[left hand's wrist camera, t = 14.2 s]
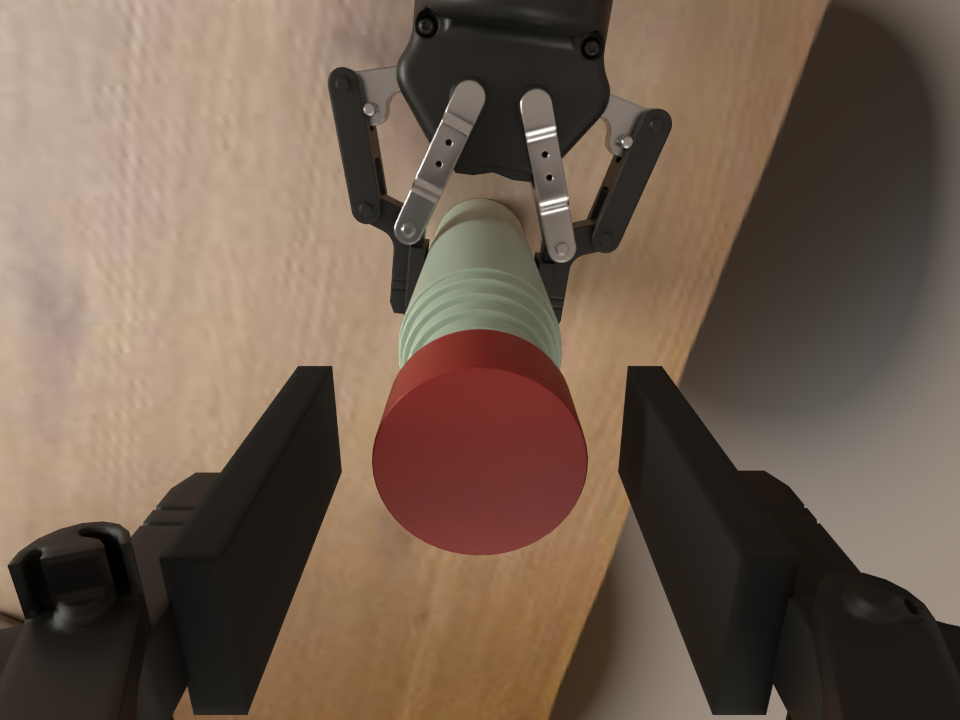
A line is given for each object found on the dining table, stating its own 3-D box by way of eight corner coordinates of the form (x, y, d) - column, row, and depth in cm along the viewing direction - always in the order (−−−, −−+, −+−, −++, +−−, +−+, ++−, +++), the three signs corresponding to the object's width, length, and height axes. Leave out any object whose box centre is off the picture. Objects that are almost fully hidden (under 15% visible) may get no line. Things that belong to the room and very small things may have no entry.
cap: (401, 501, 16) (389, 563, 13) (374, 337, 14) (355, 377, 12) (575, 486, 15) (591, 547, 13) (567, 319, 14) (584, 357, 12)
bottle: (443, 189, 33) (379, 319, 12) (534, 209, 34) (628, 369, 12) (427, 278, 35) (346, 530, 14) (513, 296, 35) (565, 568, 14)
